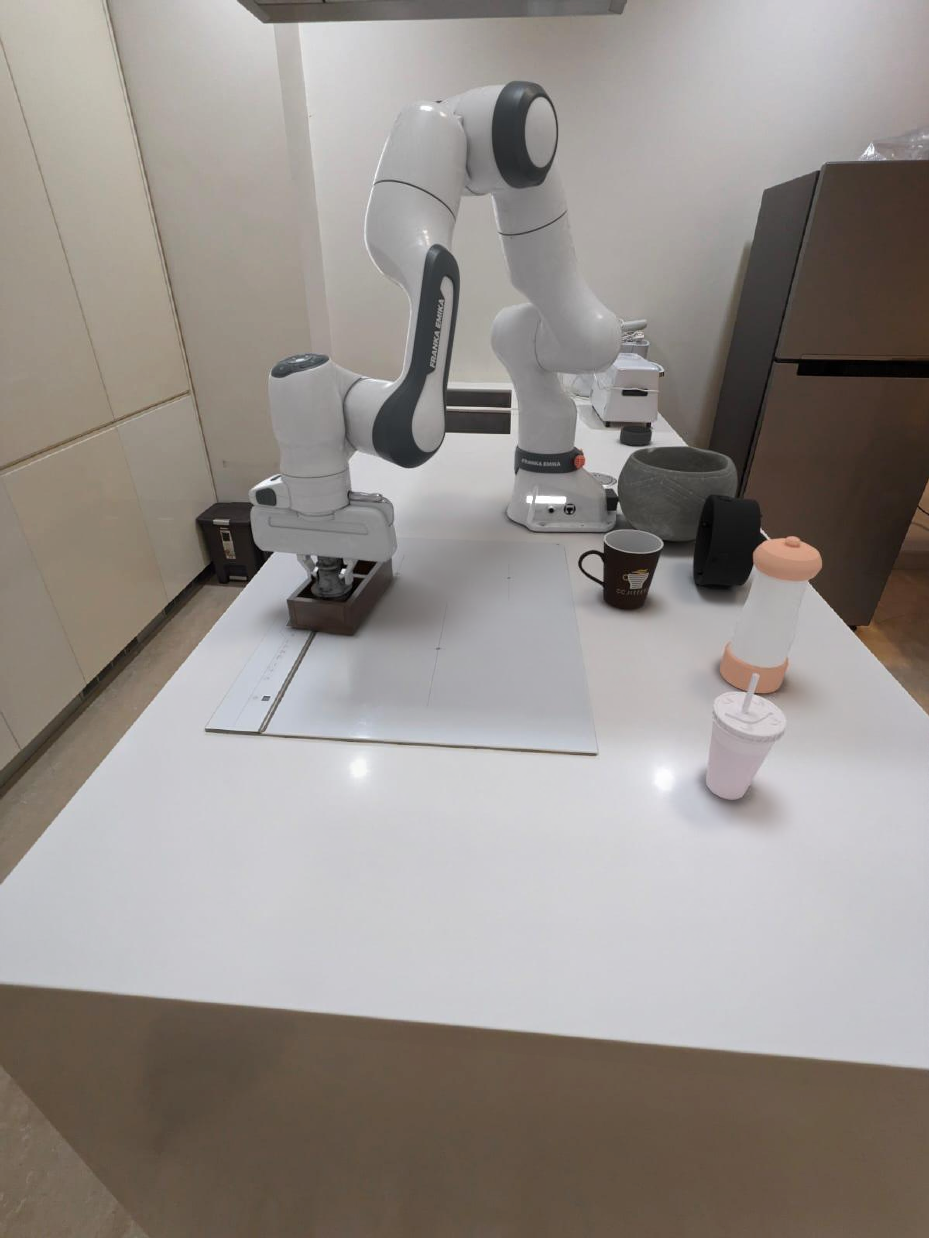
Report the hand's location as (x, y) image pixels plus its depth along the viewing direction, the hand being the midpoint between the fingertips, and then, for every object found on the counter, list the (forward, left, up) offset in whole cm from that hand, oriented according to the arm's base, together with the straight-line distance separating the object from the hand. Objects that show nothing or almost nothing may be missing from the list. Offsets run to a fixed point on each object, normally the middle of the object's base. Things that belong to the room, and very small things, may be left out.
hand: (330, 581), depth 84 cm
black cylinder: (-59, -23, -6) cm, 64 cm away
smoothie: (-52, +23, -6) cm, 57 cm away
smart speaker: (-47, -110, -6) cm, 120 cm away
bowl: (-51, -42, -6) cm, 66 cm away
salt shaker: (0, 0, -5) cm, 5 cm away
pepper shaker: (-58, +3, -6) cm, 58 cm away
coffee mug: (-41, -14, -6) cm, 44 cm away
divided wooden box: (0, -4, -6) cm, 7 cm away
